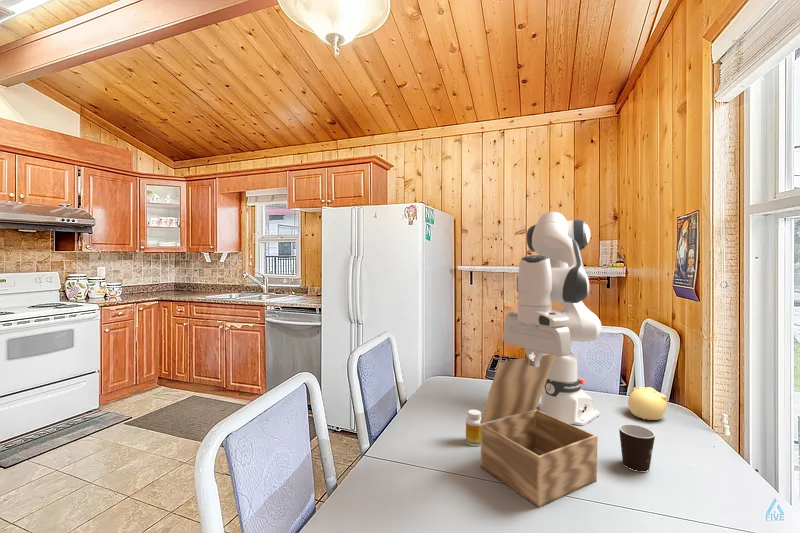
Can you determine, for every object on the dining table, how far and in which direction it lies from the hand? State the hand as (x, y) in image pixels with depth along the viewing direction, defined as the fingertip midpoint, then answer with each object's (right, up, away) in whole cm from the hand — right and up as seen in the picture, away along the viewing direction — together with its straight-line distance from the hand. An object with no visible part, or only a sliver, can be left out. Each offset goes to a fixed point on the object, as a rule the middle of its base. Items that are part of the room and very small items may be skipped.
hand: (534, 366), depth 105 cm
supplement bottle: (-13, -29, +17) cm, 36 cm away
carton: (+1, -29, -1) cm, 29 cm away
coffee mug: (+31, -29, +4) cm, 43 cm away
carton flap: (-2, -7, +4) cm, 9 cm away
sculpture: (+54, -28, +37) cm, 71 cm away
